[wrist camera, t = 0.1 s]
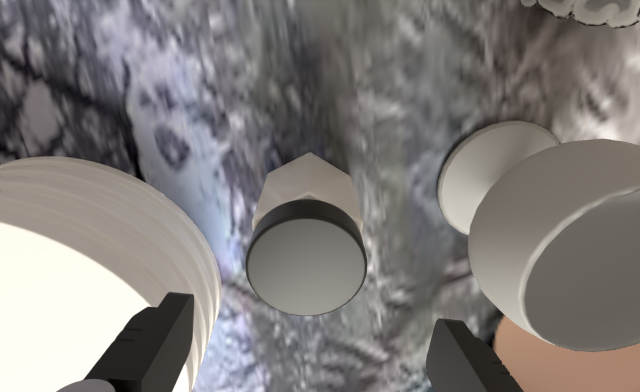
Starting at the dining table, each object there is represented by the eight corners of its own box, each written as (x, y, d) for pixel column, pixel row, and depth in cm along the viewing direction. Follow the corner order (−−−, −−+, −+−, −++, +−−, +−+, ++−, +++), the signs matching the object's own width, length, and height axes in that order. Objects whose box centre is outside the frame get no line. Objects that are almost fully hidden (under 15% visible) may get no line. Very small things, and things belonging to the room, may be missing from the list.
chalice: (543, 76, 30) (738, 108, 16) (591, 198, 35) (773, 301, 21) (400, 165, 33) (462, 255, 19) (463, 266, 38) (549, 394, 24)
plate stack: (189, 143, 32) (129, 195, 21) (241, 363, 43) (219, 466, 33) (-112, 168, 32) (-316, 230, 22) (19, 379, 44) (-74, 486, 33)
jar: (247, 206, 34) (217, 284, 23) (289, 137, 32) (277, 189, 21) (324, 247, 36) (329, 336, 26) (370, 185, 34) (397, 256, 23)
